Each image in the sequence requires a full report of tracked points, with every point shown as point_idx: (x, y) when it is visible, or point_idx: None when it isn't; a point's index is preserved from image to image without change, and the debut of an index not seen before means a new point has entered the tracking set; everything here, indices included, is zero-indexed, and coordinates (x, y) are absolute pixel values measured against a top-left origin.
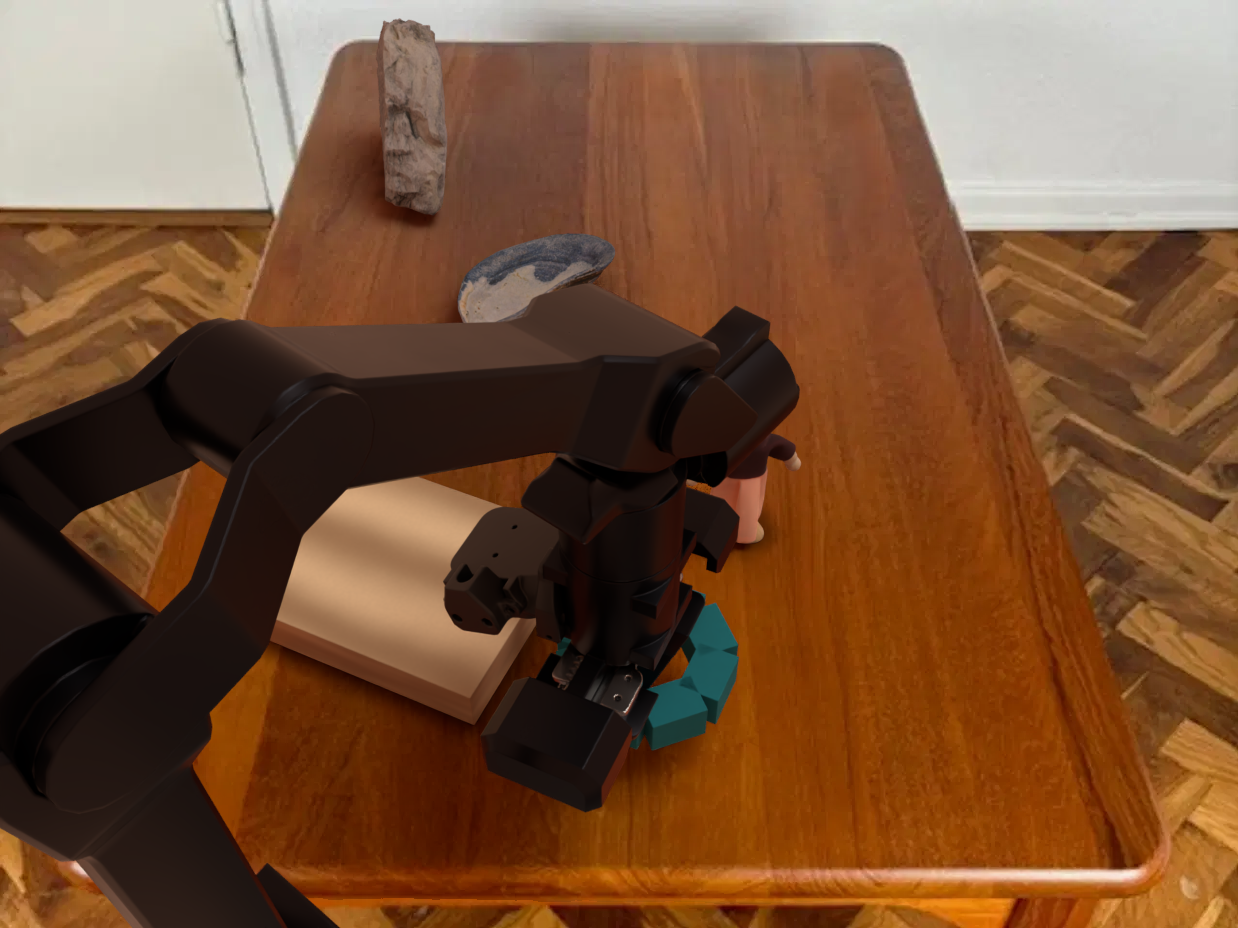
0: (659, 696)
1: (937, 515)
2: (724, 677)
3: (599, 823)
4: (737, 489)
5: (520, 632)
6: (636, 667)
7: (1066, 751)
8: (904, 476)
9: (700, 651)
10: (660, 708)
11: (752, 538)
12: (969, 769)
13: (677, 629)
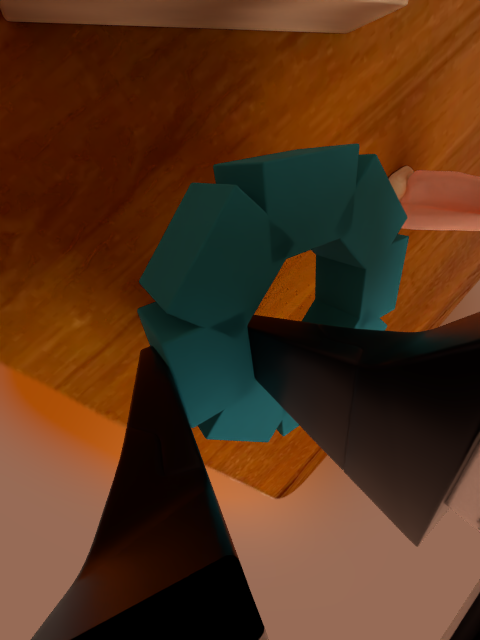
0: (254, 399)
1: (420, 306)
2: None
3: (65, 332)
4: (473, 208)
5: (223, 8)
6: (287, 384)
7: (318, 446)
8: (441, 272)
9: None
10: (238, 416)
11: (403, 227)
12: (292, 436)
13: (428, 529)
